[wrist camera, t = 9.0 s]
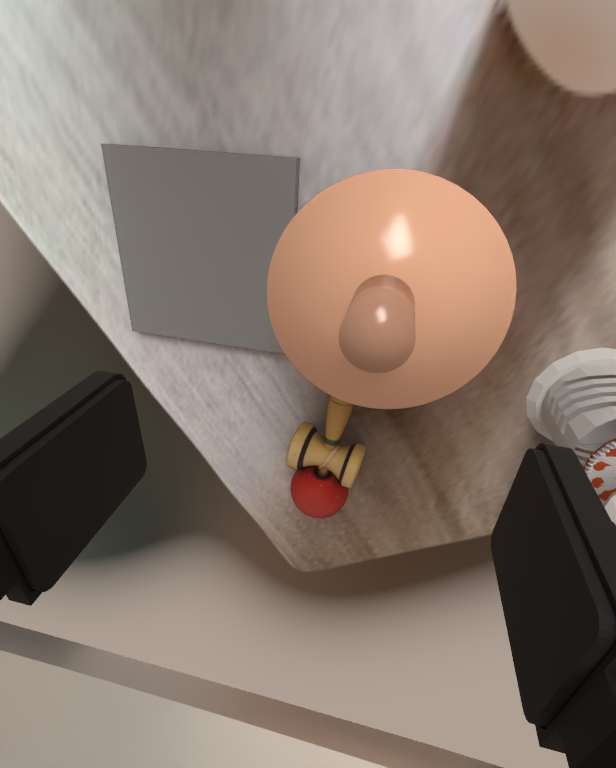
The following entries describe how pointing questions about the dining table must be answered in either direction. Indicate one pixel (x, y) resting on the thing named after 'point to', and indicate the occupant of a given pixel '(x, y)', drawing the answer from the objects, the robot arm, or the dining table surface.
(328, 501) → the kendama
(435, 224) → the lid
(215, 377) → the dining table surface
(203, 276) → the mat
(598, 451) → the french press
